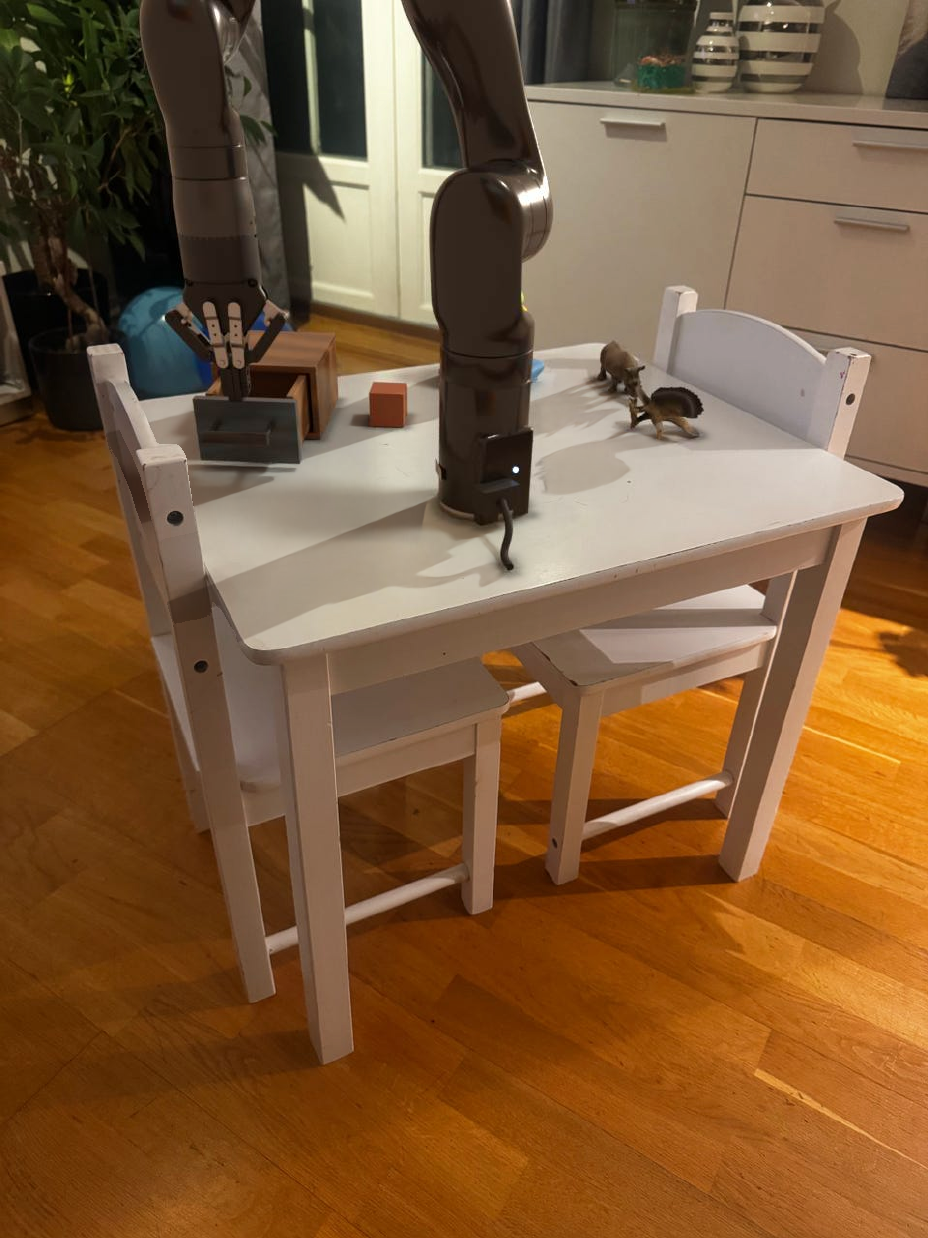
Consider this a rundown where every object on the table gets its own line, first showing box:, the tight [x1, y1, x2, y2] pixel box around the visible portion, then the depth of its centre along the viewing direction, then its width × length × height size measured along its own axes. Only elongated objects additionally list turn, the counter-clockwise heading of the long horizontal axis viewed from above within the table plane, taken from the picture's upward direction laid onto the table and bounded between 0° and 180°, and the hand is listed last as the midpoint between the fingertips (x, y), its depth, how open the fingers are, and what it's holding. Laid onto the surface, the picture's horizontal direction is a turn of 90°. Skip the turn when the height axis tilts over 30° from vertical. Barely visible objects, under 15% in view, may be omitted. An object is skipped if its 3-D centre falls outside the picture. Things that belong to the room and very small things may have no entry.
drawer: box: [192, 371, 313, 465], centre depth 106 cm, size 19×11×7 cm, turn 178°
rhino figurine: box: [597, 340, 646, 399], centre depth 130 cm, size 4×14×6 cm, turn 10°
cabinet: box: [210, 329, 340, 440], centre depth 117 cm, size 15×13×9 cm
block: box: [368, 381, 408, 428], centre depth 118 cm, size 4×4×4 cm
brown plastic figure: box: [628, 386, 705, 440], centre depth 117 cm, size 8×7×9 cm
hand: (238, 399), depth 98 cm, fingers closed
